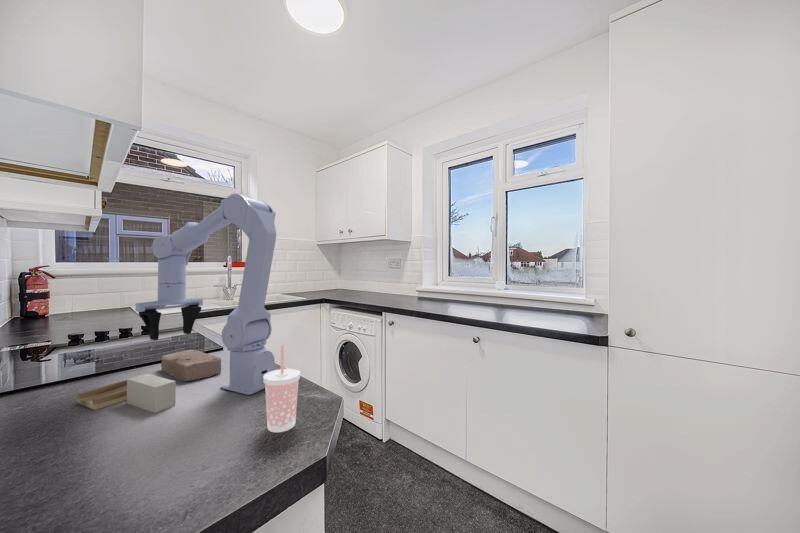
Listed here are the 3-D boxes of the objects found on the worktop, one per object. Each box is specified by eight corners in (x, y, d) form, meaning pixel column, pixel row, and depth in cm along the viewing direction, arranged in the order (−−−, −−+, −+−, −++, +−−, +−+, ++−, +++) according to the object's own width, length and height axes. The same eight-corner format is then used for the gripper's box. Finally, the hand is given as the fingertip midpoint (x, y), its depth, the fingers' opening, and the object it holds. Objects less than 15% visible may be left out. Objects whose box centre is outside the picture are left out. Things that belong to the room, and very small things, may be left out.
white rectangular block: (175, 406, 60) (175, 381, 60) (155, 413, 57) (155, 387, 57) (146, 397, 64) (147, 373, 64) (126, 403, 61) (127, 379, 61)
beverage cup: (271, 416, 56) (272, 341, 56) (304, 416, 56) (305, 341, 56) (255, 434, 50) (256, 350, 50) (292, 435, 50) (293, 350, 50)
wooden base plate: (159, 389, 68) (160, 380, 68) (94, 410, 58) (95, 399, 58) (142, 384, 71) (142, 375, 71) (77, 403, 61) (77, 393, 61)
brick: (159, 371, 81) (159, 353, 81) (194, 363, 88) (194, 347, 88) (185, 385, 71) (186, 365, 71) (222, 375, 78) (223, 357, 78)
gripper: (191, 282, 86) (191, 330, 85) (128, 284, 72) (128, 340, 72) (207, 282, 83) (207, 332, 83) (145, 285, 70) (144, 344, 69)
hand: (171, 336), depth 77 cm, fingers open, 7 cm apart
